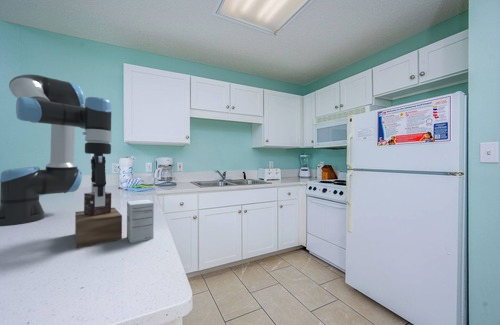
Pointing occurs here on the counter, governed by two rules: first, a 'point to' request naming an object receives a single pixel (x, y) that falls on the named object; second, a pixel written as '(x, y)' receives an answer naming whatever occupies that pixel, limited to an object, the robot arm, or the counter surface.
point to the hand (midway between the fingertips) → (97, 202)
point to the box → (90, 204)
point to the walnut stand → (97, 228)
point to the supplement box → (140, 220)
